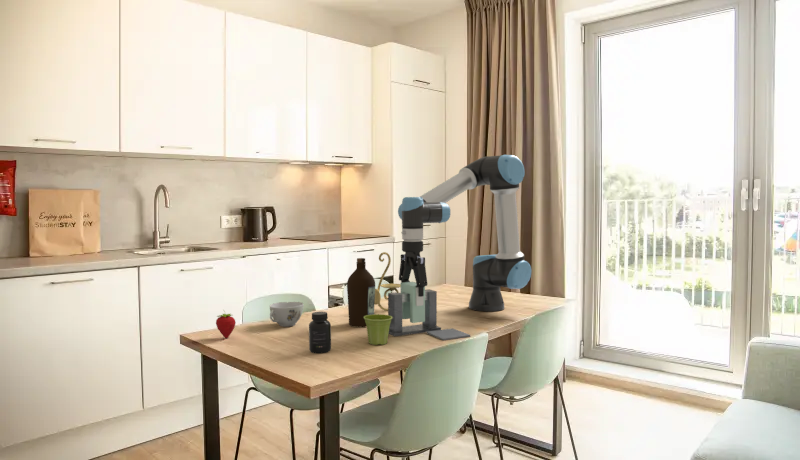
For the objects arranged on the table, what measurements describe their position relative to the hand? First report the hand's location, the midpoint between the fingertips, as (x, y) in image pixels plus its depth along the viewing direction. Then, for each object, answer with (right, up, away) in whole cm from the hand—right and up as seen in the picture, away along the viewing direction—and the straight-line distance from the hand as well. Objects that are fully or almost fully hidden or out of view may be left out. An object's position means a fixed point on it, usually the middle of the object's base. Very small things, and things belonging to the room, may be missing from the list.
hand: (412, 303), depth 200 cm
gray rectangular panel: (+12, -10, -5) cm, 17 cm away
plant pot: (-12, -11, -16) cm, 23 cm away
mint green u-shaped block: (0, -6, 0) cm, 6 cm away
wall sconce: (-10, -8, +36) cm, 38 cm away
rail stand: (0, -10, +1) cm, 10 cm away
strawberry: (-64, -11, -9) cm, 65 cm away
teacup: (-48, -10, +10) cm, 50 cm away
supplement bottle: (-29, -12, -25) cm, 40 cm away
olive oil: (-19, -10, +11) cm, 24 cm away
